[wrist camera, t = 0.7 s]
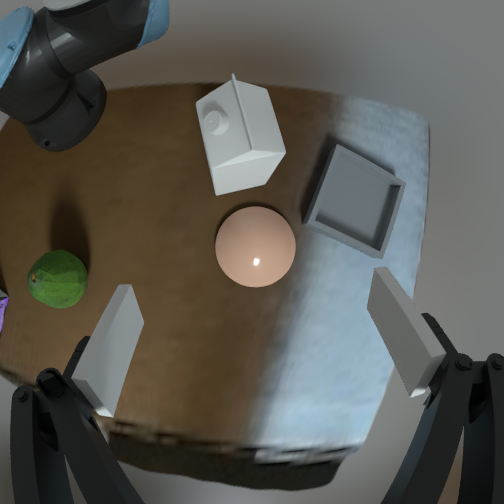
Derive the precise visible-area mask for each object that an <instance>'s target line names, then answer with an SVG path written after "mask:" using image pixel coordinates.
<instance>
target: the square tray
mask: <svg viewBox="0 0 504 504" xmlns="http://www.w3.org/2000/svg"><path fill="white" fill-rule="evenodd" d="M405 185H406V183H405V182H403V181H402V180H400V179H399V178H397V177H395V176H394V175H392V174H391V173H389V172H387V171H386V170H384V169H382V168H380V167H379V166H377V165H375V164H374V163H372V162H370V161H368V160H367V159H365V158H363V157H361V156H359V155H357V154H356V153H354V152H352V151H350V150H348V149H346V148H344V147H343V146H341V145H339V144H336V145H335V146H334V147H333V148H332V149H331V150H330V153H329V156H328V158H327V161H326V164H325V167H324V169H323V172H322V175H321V177H320V180H319V182H318V185H317V188H316V190H315V193H314V195H313V198H312V201H311V203H310V206H309V208H308V211H307V213H306V216H305V219H304V221H303V224H302V225H304V226H306V227H309V228H311V229H313V230H315V231H317V232H320V233H322V234H324V235H326V236H328V237H330V238H333V239H335V240H337V241H339V242H341V243H343V244H345V245H348V246H350V247H352V248H354V249H356V250H358V251H360V252H362V253H364V254H366V255H368V256H370V257H373V258H379V259H383V256H384V253H385V250H386V247H387V244H388V241H389V238H390V235H391V232H392V229H393V226H394V223H395V220H396V216H397V213H398V210H399V206H400V203H401V199H402V196H403V192H404V189H405Z"/></svg>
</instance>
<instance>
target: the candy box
mask: <svg viewBox="0 0 504 504" xmlns="http://www.w3.org/2000/svg"><path fill="white" fill-rule="evenodd" d="M8 298H9V297H8V296H7V295H6V294H5V293H4V292H3V291H2V290H1V289H0V337H1V331H2V325H3V320H4V315H5V311H6V306H7V302H8Z"/></svg>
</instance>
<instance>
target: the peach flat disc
mask: <svg viewBox="0 0 504 504" xmlns="http://www.w3.org/2000/svg"><path fill="white" fill-rule="evenodd" d="M215 248H216V256H217V260H218V262H219V265H220V266H221V268H222V270H223V271H224V272H225V274H226V275H227V276H228V277H229V278H231V279H232V280H233V281H235V282H237V283H239V284H241V285H244V286H248V287H262V286H267V285H270V284H272V283H274V282H276V281H277V280H279V279H280V278H281V277H283V276H284V275H285V273H286V272H287V271H288V270H289V268H290V266H291V265H292V262H293V260H294V256H295V249H296V246H295V238H294V234H293V232H292V229H291V227H290V226H289V224H288V223H287V221H286V220H285V219H284V218H283V217H282V216H281V215H279V214H278V213H276V212H275V211H273V210H270V209H268V208H264V207H247V208H243V209H241V210H238V211H236V212H235V213H233V214H232V215H230V216H229V217H228V218H227V219H226V220H225V221H224V223H223V224H222V226H221V227H220V229H219V232H218V234H217V238H216V244H215Z"/></svg>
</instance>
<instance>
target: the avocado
mask: <svg viewBox="0 0 504 504" xmlns="http://www.w3.org/2000/svg"><path fill="white" fill-rule="evenodd" d="M87 282H88V275H87V271H86V268H85V266H84V265H83V263H82V261H81V260H80V259H79V258H77V257H76V256H75V255H73V254H72V253H69V252H67V251H65V250H62V249H61V250H56V251H52V252H49V253H45V254H44V255H43V256H42V257H41V258H40V259H39V260H37V261H36V262H35V264H34V265H33V266H32V268H31V270H30V272H29V273H28V277H27V285H28V289H29V291H30V292H31V294H32V295H33V296H34V298H36V299H37V300H39V301H41V302H43V303H45V304H47V305H49V306H51V307H55V308H66V307H69V306H73V305H75V304H76V303H77V302H78V301H79V300H80V299H81V297H82V295H83V294H84V292H85V290H86V288H87Z"/></svg>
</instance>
